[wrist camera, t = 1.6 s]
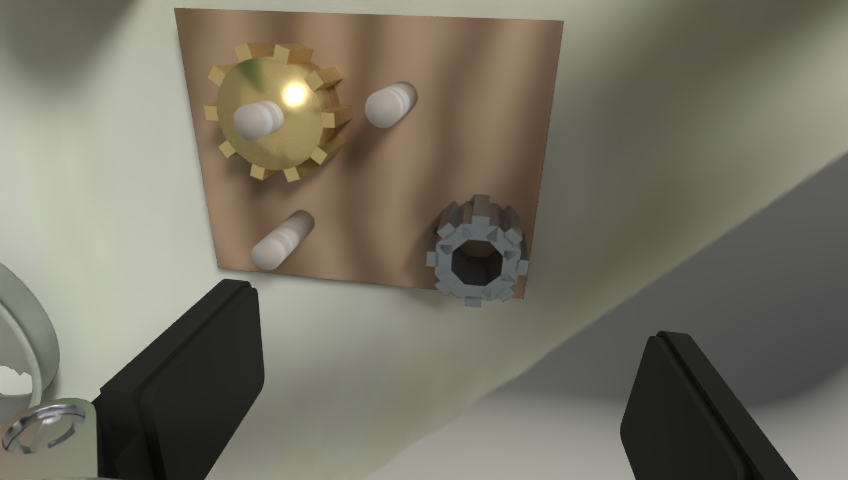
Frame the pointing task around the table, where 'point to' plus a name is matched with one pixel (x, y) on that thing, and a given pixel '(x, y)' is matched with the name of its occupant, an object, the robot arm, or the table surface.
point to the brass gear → (298, 100)
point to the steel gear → (477, 273)
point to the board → (377, 138)
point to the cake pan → (24, 343)
